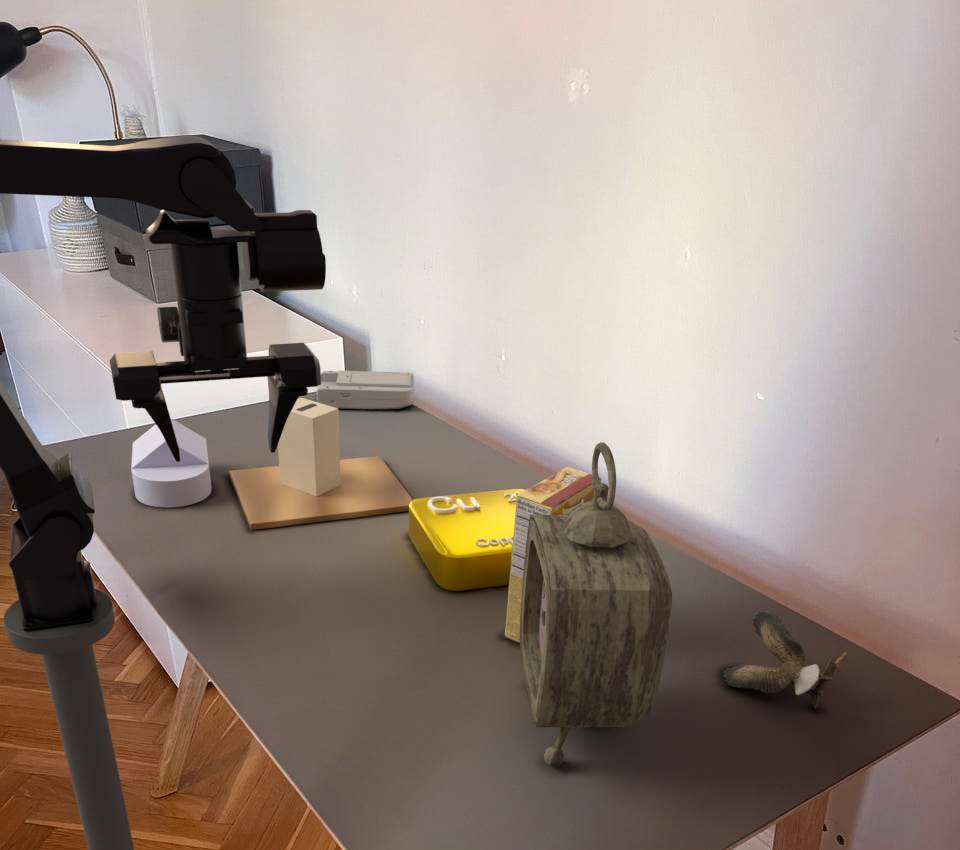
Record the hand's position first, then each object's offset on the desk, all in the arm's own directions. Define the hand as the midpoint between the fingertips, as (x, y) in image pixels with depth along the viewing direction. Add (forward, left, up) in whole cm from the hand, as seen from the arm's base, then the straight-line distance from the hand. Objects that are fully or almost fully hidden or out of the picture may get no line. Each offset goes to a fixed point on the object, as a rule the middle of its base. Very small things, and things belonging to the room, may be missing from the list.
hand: (225, 455), depth 94 cm
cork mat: (+13, +17, -13) cm, 25 cm away
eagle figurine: (+43, -36, -13) cm, 58 cm away
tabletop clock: (+23, -35, -13) cm, 44 cm away
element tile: (+27, -4, -13) cm, 30 cm away
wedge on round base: (-4, +24, -13) cm, 28 cm away
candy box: (+27, -20, -13) cm, 36 cm away
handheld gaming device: (+28, +49, -9) cm, 57 cm away
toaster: (+12, +18, -12) cm, 25 cm away
